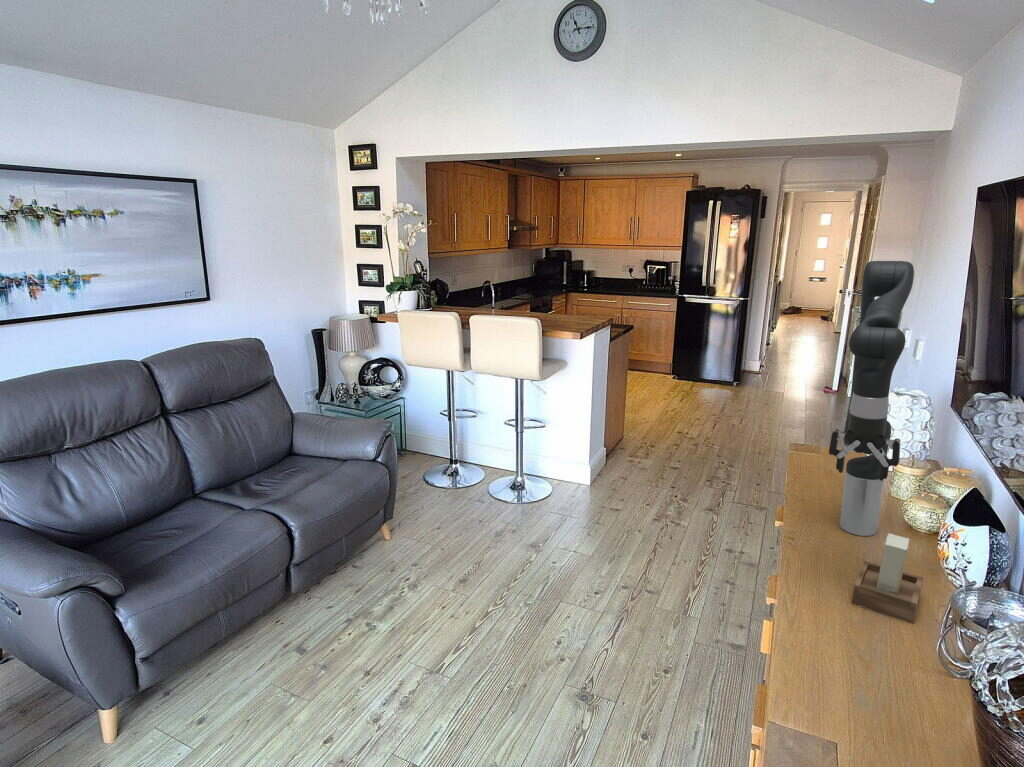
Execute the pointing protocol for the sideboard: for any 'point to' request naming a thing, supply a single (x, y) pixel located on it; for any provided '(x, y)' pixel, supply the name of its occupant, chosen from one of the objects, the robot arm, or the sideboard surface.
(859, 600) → the brown wooden tray
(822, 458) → the sideboard surface
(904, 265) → the robot arm
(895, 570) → the skincare box
